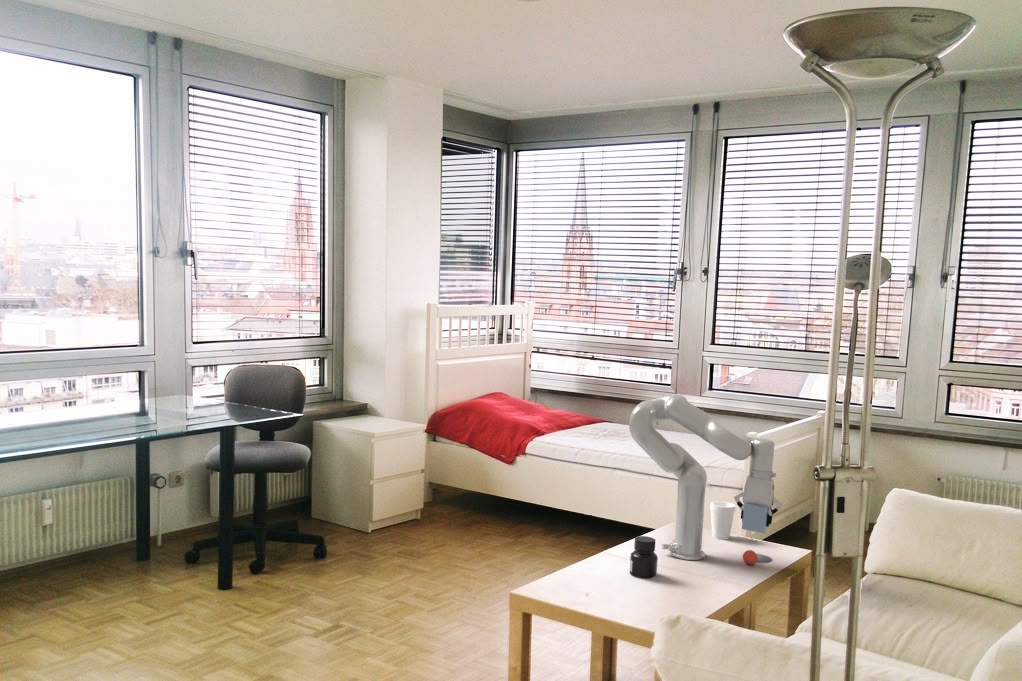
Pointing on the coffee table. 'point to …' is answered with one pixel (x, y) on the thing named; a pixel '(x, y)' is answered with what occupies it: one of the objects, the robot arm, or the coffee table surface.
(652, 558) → the ink bottle
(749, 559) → the ball
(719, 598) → the coffee table surface
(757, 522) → the blue box
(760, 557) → the disc
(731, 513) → the foam cup
